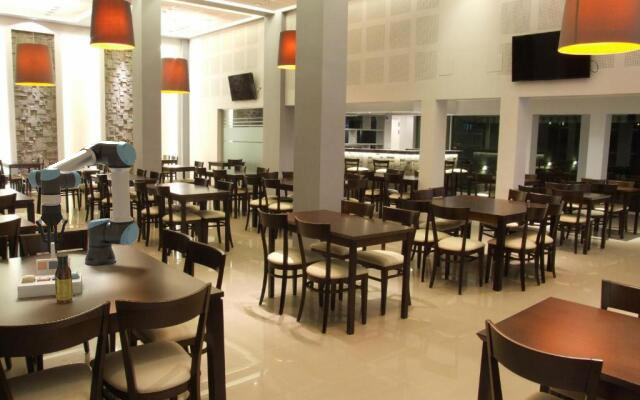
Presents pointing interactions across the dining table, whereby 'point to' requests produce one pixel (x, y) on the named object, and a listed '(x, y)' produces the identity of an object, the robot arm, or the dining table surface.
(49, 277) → the key
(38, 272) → the placard
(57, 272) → the sauce bottle
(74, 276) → the key
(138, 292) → the dining table surface
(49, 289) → the keypad
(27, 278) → the key
